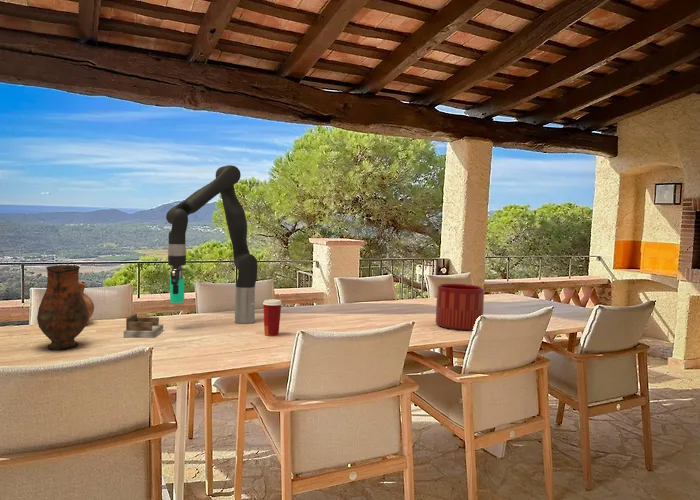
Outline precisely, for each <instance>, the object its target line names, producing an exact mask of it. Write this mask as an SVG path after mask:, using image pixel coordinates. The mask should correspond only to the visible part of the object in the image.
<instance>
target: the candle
mask: <svg viewBox="0 0 700 500" xmlns="http://www.w3.org/2000/svg"><path fill="white" fill-rule="evenodd" d="M174 282H176V280H174ZM177 286H178V294H173V285H172V284H171V277H169V287H170V288H169V303H173V304H179V303H184V302H185V278H184V277H183V278H182V279H180V280H179V285H177Z"/></svg>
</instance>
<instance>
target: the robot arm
mask: <svg viewBox="0 0 700 500" xmlns="http://www.w3.org/2000/svg"><path fill="white" fill-rule="evenodd" d="M241 176H242V175H241V171H240V169H239V168H238V166H235V165H232V164H231V165H229V164H228V165H224V166H221V167H218V168H217V169H216V171H215V178H214V179H213V180H212V181H211V182H209V183H207V184H206V185H204V186H203V187H201V188H199V189H197V190H196V191H194V192H193V193H192V194H190V195H189V196H188V197H187V198H186V199H185V200H183V201H182V202H180V203H178V204H176V205H174V206H173V207H171V208H170V209H169V210H168V211H167V212H166V214H165V215H166V216H165V219H166V221H167V222H168V223H169V224H170V225H171V230H170V231H169V232H168V247H167V265H168V266H170V267H172V269H171V271H170V272H169V273H170V278H171V284H172V285H173V294H178V286H177V285H179V280H180V279H182V278H184V268H182V266H186V265H187V248H186V247H187V246H186V244H187V243H186V232H187V230H188V224H189V215H192V214H195V213H196V212H198V211H199V210H200V209H201V208H204V206H205V205H206V204H208V203H209V202H210V201H211V200H212V199H214V198H215V197H217V196H218V195H219V194H220V196H221V201H222V205H223V206H222V207H223V211H224V214H225V215H224V216H225V221H226V222H225V223H226V226H227V231H228V235H229V238H230V242H231V246H232V254H233V262H234V266H235V269H237V271H238V274H237V279H236V280H235V290H234V292H235V295H234V296H235V297H234V301H235V303H234V304H235V305H234V323H236V324H243V325H244V324H255V318H256V317H255V316H256V301H255V300H256V282H257V280H258V279H257V278H258V260H257V258H256V257H255V255H253V254H251V253H250V250H249V247H248V239H247V237H248V221H247V216H246V212H245V210H244V207H243V206H242V204H241V202H240V200H239V199H238V197H237V193H236V191H235V185H236V184H237V183H238V182H239V181H240V180H241ZM174 280H176V282H174Z"/></svg>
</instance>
